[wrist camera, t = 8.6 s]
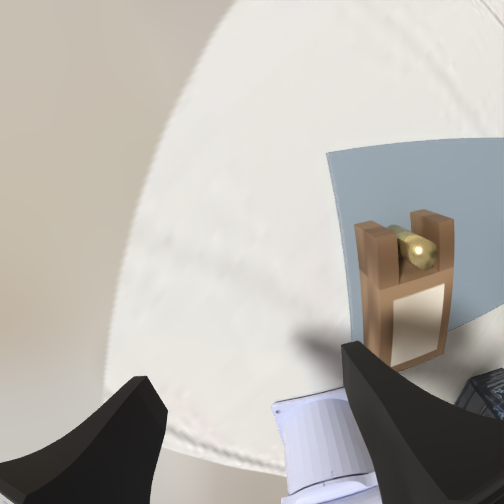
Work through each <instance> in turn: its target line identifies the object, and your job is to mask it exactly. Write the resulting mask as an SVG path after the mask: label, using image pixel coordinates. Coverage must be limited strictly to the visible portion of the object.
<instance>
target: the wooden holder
mask: <svg viewBox="0 0 504 504" xmlns="http://www.w3.org/2000/svg"><path fill="white" fill-rule="evenodd" d="M410 220H411V232H413V233H415V234H417V235H419V236H421V237H423V238H425V239H427V240H429V241H431V242H433V243H434V244H435V245H436V247H437V258H436V261H435V263H434V264H433V265H432V266H431V267H430V268H428V269H425V270H422V269H419V268H418V267H417V266H415V265H414V264H412V263H411V262H410V261H408V260H407V259H405V258H404V257H400V258H398V246H397V233H395V232H393V231H391V230H389V229H387V228H385V227H383V226H381V225H380V224H378V223H376V222H374V221H372V220H371V221H367V222H362V223H357V224H354V229H355V236H356V244H357V253H358V262H359V272H360V284H361V297H362V313H363V339H364V346H366V347H367V348H368V349H369V350H370V351H371V352H372V353H374V354H375V355H376V356H377V357H378V358H380V359H381V360H382V361H383V362H384V363H386V364H387V365H388V366H390V367H391V368H392V369H394V370H395V371H396V372H399V371H402V370H405V369H407V368H410V367H413V366H415V365H418V364H420V363H422V362H425V361H427V360H430V359H432V358H434V357H437V356H439V355H441V354H443V352H444V347H445V342H446V336H447V330H448V324H449V316H450V309H451V300H452V289H453V276H454V250H455V232H454V219H452V218H449V217H446V216H443V215H441V214H438V213H435V212H432V211H429V210H425V209H422V210H417V211H412V212H410Z"/></svg>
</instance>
